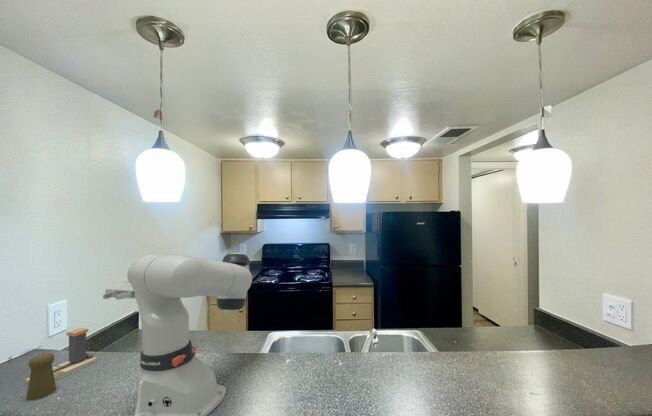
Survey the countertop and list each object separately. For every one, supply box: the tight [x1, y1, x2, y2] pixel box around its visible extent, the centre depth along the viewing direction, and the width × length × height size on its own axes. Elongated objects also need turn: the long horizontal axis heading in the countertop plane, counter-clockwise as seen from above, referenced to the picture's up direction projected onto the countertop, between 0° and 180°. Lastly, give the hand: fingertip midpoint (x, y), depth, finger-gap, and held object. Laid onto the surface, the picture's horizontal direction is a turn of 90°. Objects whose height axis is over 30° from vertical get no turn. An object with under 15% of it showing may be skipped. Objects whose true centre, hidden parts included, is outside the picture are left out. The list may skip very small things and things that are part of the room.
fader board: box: [25, 352, 98, 385], centre depth 90 cm, size 8×15×2 cm, turn 164°
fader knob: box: [66, 327, 89, 363], centre depth 95 cm, size 4×4×10 cm
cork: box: [25, 352, 57, 402], centre depth 79 cm, size 6×6×11 cm
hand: (110, 297), depth 106 cm, fingers open, 5 cm apart
